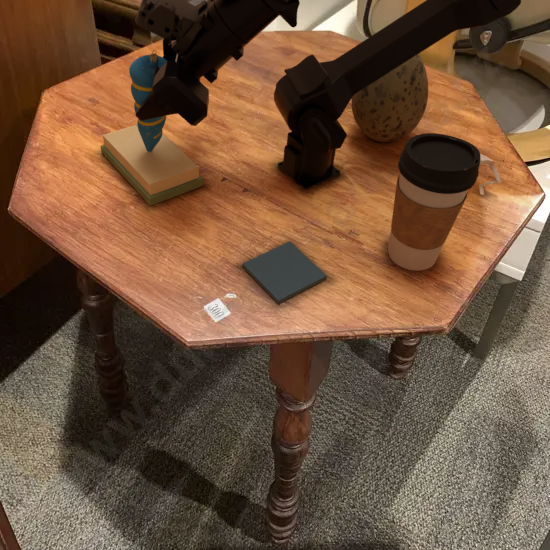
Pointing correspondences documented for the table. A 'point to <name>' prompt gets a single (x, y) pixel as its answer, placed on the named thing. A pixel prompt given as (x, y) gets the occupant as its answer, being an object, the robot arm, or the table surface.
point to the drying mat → (284, 272)
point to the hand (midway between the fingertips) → (141, 106)
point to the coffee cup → (429, 196)
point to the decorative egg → (393, 102)
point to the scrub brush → (151, 165)
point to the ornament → (140, 89)
